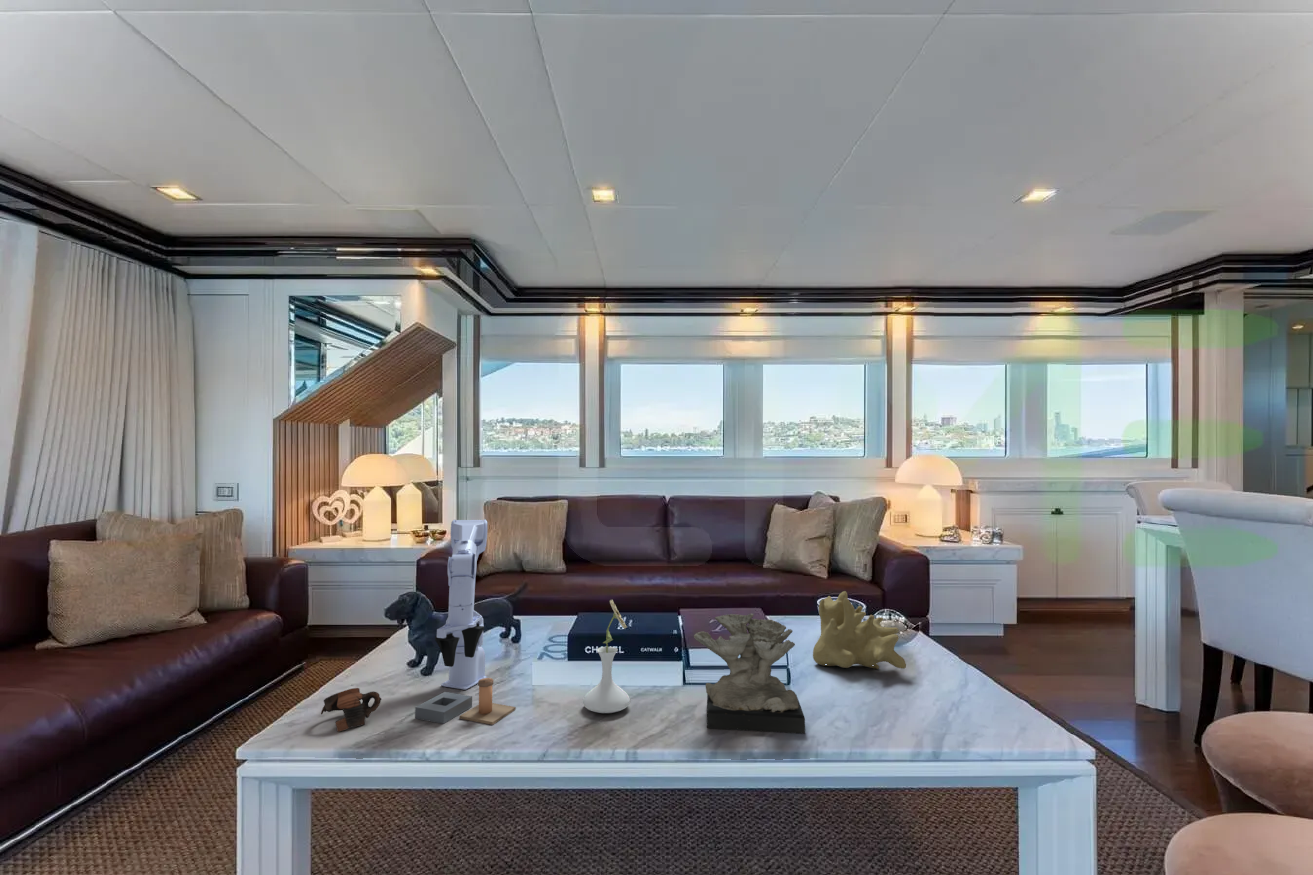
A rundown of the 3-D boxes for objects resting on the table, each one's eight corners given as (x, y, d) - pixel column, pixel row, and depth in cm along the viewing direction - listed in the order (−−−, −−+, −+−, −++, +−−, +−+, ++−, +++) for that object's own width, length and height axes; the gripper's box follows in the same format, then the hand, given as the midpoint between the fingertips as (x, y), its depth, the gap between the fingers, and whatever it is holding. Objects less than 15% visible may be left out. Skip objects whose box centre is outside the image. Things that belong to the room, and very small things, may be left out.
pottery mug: (322, 738, 125) (315, 699, 128) (330, 741, 133) (324, 703, 136) (383, 714, 130) (375, 677, 133) (387, 718, 138) (380, 683, 141)
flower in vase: (623, 720, 135) (624, 609, 136) (575, 715, 137) (577, 606, 138) (636, 698, 148) (637, 597, 149) (592, 694, 150) (594, 594, 151)
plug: (483, 707, 140) (484, 677, 140) (495, 709, 138) (496, 678, 139) (474, 712, 136) (475, 682, 137) (487, 715, 135) (487, 684, 136)
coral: (690, 727, 132) (691, 629, 133) (696, 693, 152) (696, 608, 153) (805, 735, 128) (805, 635, 129) (795, 699, 148) (795, 612, 150)
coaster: (483, 703, 143) (483, 701, 143) (515, 709, 140) (515, 706, 140) (459, 718, 135) (459, 715, 135) (492, 724, 132) (492, 722, 132)
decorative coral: (783, 614, 187) (848, 567, 185) (824, 663, 190) (887, 617, 188) (806, 659, 162) (881, 605, 159) (852, 715, 165) (926, 662, 163)
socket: (444, 702, 144) (444, 691, 144) (471, 706, 141) (472, 696, 141) (414, 718, 135) (415, 706, 135) (443, 723, 132) (444, 712, 132)
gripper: (455, 611, 136) (453, 672, 135) (492, 599, 149) (491, 654, 148) (430, 609, 138) (428, 668, 137) (469, 597, 152) (467, 651, 151)
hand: (459, 661), depth 143 cm, fingers open, 7 cm apart
